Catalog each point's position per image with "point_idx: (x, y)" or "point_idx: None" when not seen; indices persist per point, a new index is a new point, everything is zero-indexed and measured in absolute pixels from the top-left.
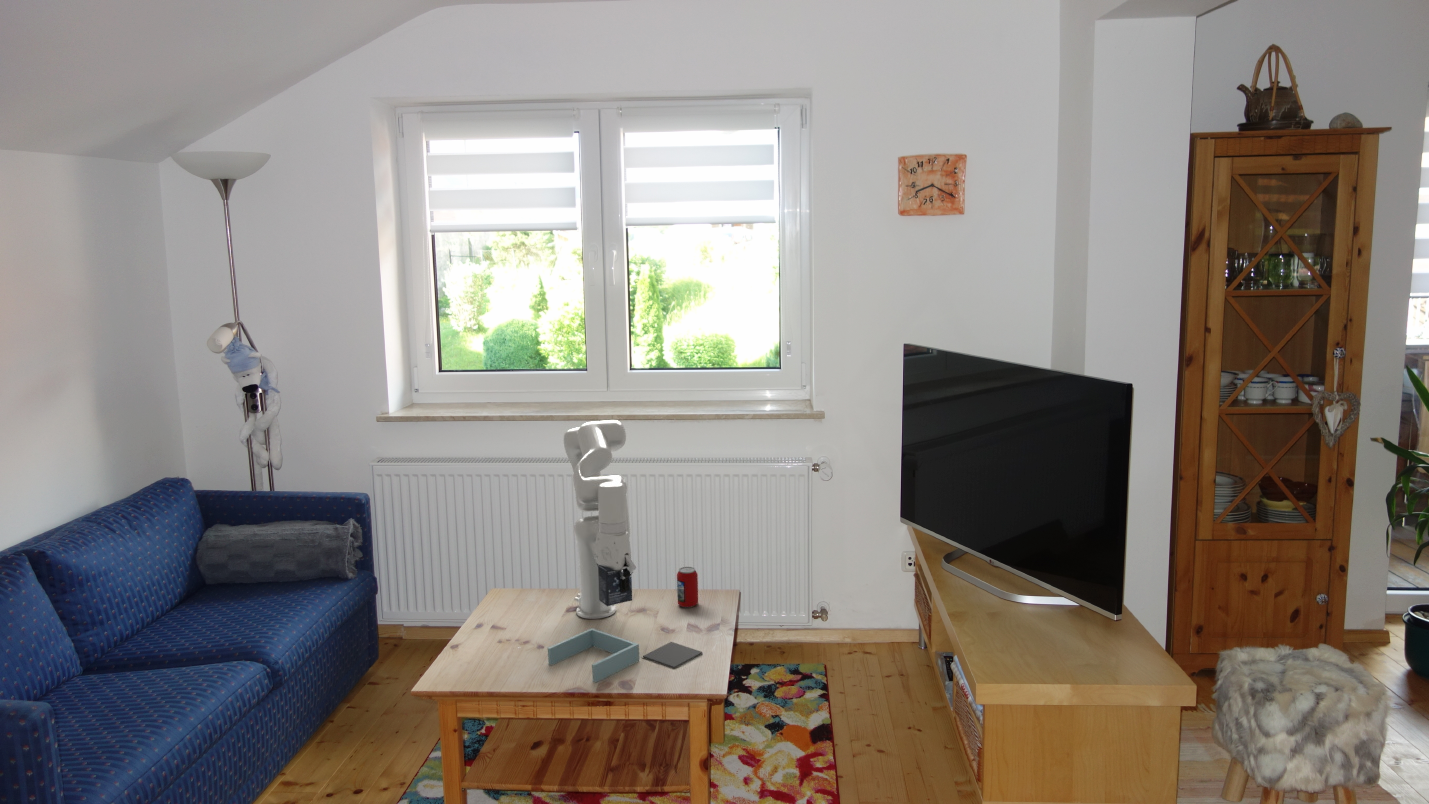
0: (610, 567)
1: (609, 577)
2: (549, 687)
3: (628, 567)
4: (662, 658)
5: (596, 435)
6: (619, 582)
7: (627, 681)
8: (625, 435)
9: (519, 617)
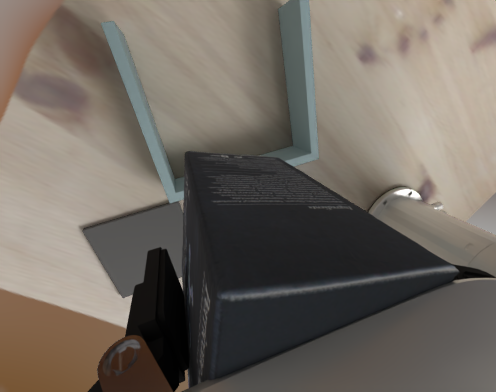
0: (248, 382)
1: (196, 258)
2: None
3: None
4: (140, 227)
5: None
6: (162, 292)
7: (73, 109)
8: None
9: (477, 101)
